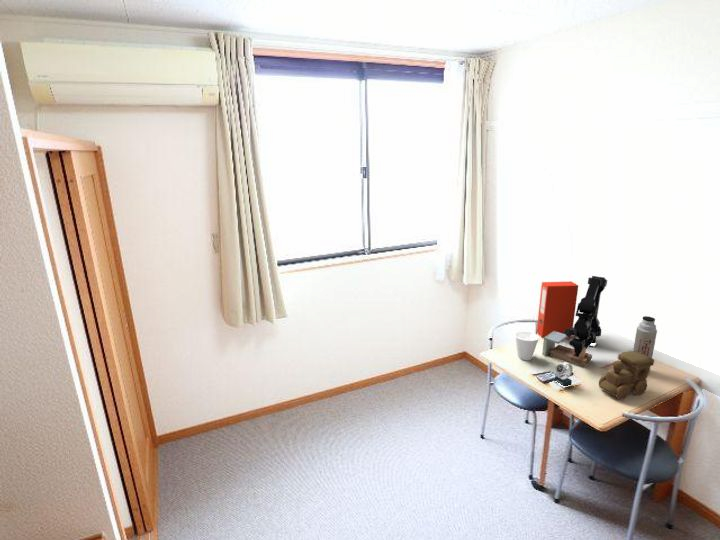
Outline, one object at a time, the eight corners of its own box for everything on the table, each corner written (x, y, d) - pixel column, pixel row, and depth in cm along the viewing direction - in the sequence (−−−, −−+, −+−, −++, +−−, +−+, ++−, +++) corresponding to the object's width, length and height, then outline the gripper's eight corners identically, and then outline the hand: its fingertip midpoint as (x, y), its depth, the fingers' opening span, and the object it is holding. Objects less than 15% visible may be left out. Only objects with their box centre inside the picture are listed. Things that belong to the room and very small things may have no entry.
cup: (530, 351, 226) (532, 330, 222) (540, 362, 214) (543, 340, 211) (509, 352, 225) (511, 331, 222) (518, 363, 214) (520, 341, 211)
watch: (551, 383, 195) (553, 362, 192) (564, 379, 197) (567, 359, 194) (560, 389, 190) (563, 367, 187) (574, 385, 192) (576, 364, 189)
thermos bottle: (647, 376, 198) (657, 322, 191) (628, 371, 204) (637, 318, 196) (650, 370, 204) (660, 317, 196) (631, 365, 209) (640, 313, 202)
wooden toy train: (627, 380, 195) (632, 348, 191) (650, 393, 185) (656, 359, 180) (594, 389, 189) (599, 356, 185) (616, 402, 179) (622, 368, 174)
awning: (551, 347, 230) (553, 331, 227) (565, 351, 224) (567, 335, 222) (542, 354, 222) (544, 337, 219) (556, 359, 216) (558, 342, 214)
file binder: (571, 337, 241) (578, 285, 232) (542, 338, 241) (547, 286, 232) (565, 331, 249) (571, 281, 240) (536, 332, 249) (541, 281, 240)
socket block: (558, 350, 226) (558, 344, 225) (591, 360, 214) (592, 354, 213) (550, 356, 220) (550, 350, 219) (583, 367, 208) (584, 361, 207)
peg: (577, 359, 216) (578, 345, 214) (585, 361, 214) (587, 347, 211) (574, 361, 214) (575, 347, 212) (582, 364, 211) (584, 350, 209)
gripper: (575, 316, 220) (571, 343, 224) (560, 326, 208) (556, 354, 212) (597, 322, 212) (593, 349, 216) (583, 333, 200) (579, 362, 204)
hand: (580, 353), depth 213 cm, fingers open, 9 cm apart
